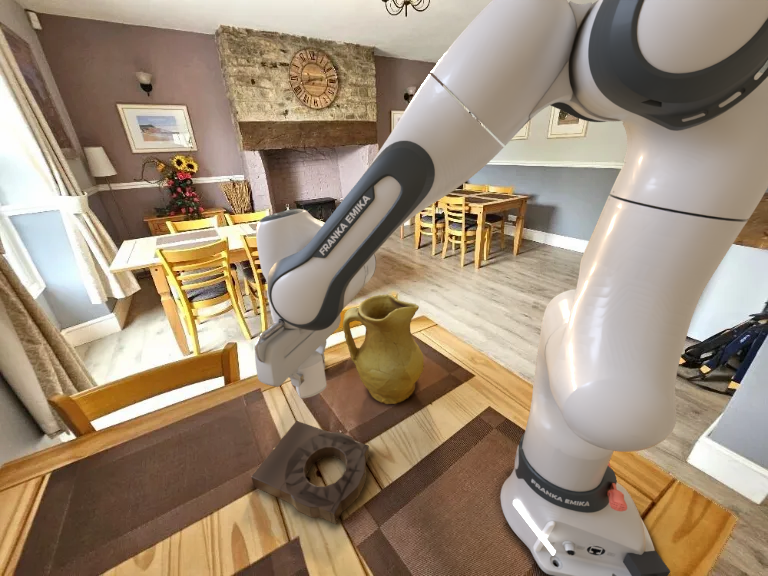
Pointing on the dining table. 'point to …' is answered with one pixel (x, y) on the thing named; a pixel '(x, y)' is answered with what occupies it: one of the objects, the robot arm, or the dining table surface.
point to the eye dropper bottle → (312, 376)
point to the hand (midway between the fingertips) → (309, 371)
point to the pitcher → (385, 348)
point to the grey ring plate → (295, 458)
